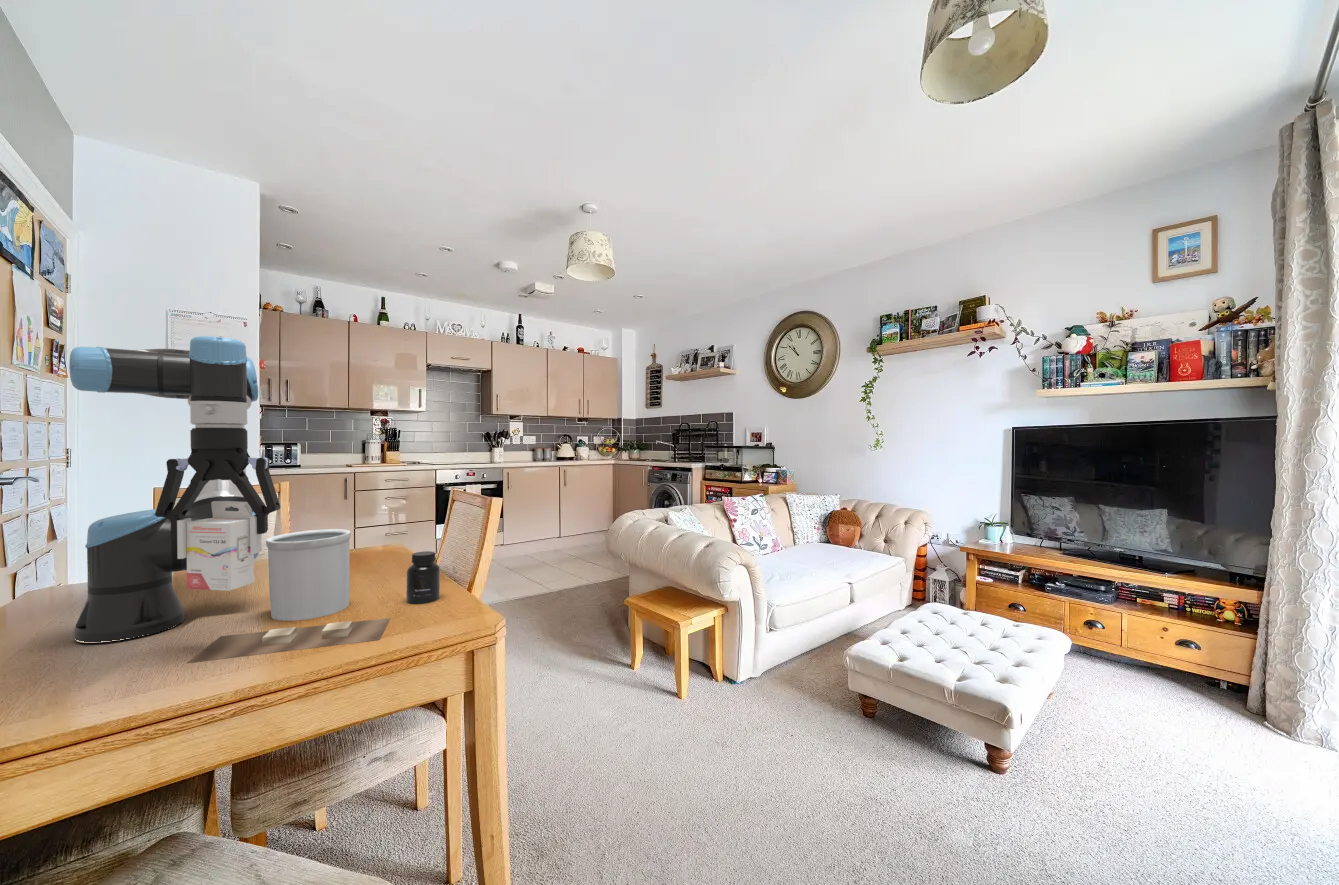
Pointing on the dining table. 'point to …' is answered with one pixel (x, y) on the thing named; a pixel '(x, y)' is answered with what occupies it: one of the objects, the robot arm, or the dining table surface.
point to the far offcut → (337, 629)
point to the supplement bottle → (423, 579)
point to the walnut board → (303, 640)
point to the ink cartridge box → (220, 549)
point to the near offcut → (279, 636)
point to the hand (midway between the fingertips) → (221, 554)
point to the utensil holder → (308, 573)
